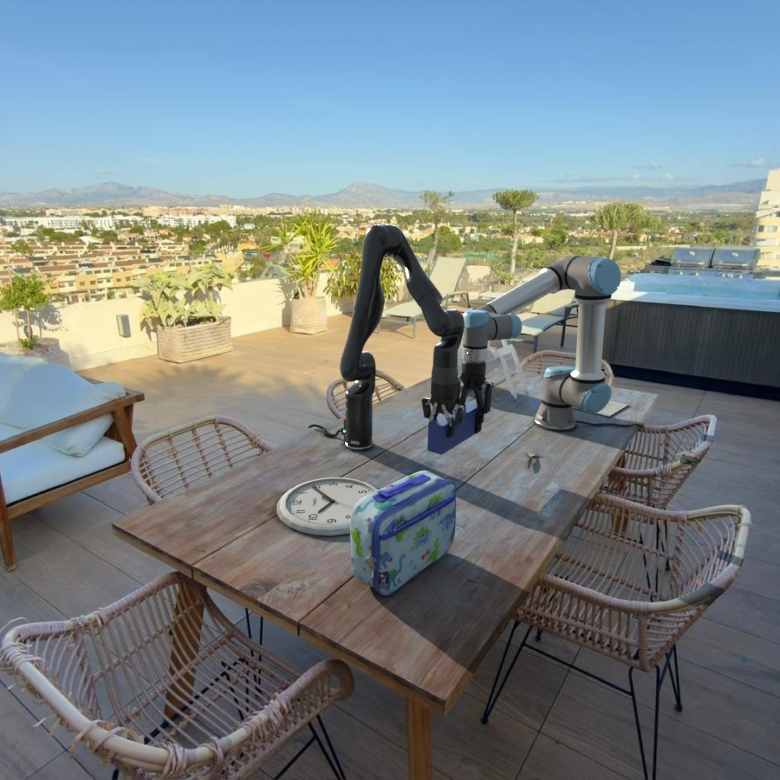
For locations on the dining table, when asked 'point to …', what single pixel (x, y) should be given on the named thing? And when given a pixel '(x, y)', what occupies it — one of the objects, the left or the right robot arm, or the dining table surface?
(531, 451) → the fork
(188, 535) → the dining table surface
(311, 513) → the wall clock
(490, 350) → the white plastic object
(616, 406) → the invitation card
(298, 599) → the dining table surface
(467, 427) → the bar
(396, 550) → the lunch box
